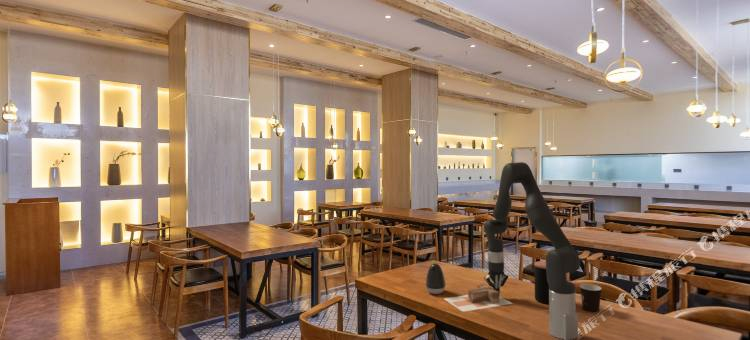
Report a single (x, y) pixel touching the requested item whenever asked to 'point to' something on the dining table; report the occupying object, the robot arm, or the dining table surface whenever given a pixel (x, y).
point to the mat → (466, 305)
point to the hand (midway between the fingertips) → (496, 295)
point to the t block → (483, 295)
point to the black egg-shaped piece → (435, 279)
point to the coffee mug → (590, 297)
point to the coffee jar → (541, 283)
